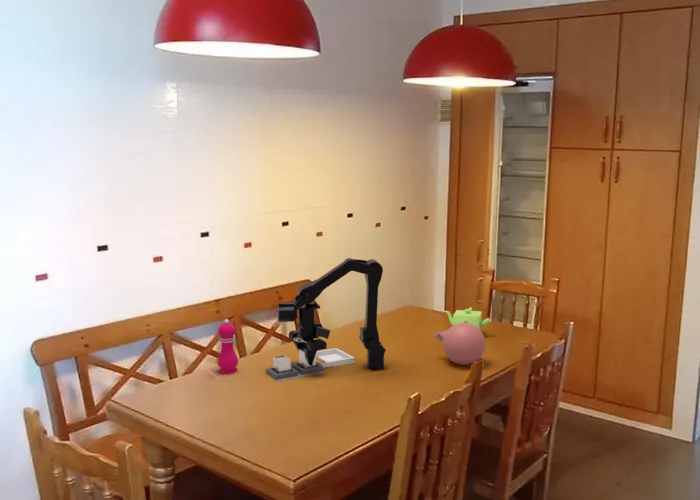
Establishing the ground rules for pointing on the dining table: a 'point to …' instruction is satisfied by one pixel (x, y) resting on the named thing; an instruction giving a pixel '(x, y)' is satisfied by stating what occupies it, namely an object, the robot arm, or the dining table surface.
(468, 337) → the balloon
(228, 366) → the pepper mill
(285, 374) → the plate
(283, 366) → the block
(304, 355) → the billet loose
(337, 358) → the white square tray
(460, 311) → the kettle
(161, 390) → the dining table surface
